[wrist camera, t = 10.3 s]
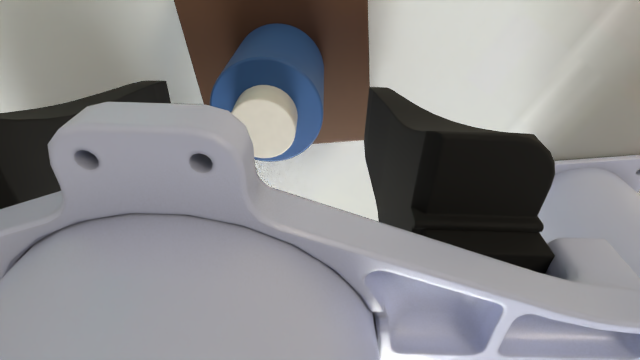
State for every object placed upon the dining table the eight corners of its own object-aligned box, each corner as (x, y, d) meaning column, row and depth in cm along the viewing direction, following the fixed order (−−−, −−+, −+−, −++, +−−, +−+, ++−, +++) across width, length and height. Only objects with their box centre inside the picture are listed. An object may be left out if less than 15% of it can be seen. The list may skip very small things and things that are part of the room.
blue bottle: (339, 84, 18) (345, 149, 13) (268, 123, 19) (248, 196, 14) (293, 4, 16) (278, 43, 11) (217, 53, 17) (173, 109, 12)
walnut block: (365, 114, 22) (370, 139, 19) (229, 125, 22) (217, 151, 20) (361, -47, 17) (367, -41, 15) (190, -28, 18) (167, -19, 15)
